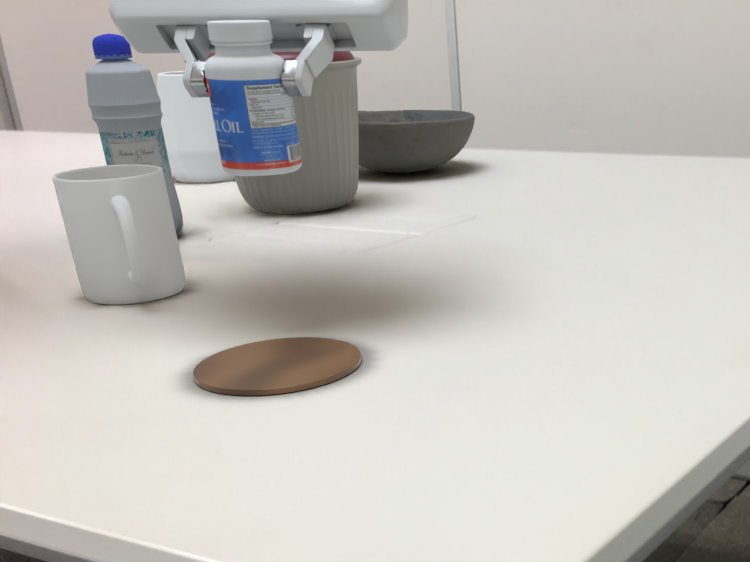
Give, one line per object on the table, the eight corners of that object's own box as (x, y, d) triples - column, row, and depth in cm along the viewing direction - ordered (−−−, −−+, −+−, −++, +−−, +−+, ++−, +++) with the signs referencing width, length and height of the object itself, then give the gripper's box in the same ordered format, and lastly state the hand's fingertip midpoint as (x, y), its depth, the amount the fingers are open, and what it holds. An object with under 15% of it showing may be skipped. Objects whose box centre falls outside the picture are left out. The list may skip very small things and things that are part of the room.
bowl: (303, 172, 147) (294, 113, 144) (428, 156, 160) (422, 102, 156) (376, 189, 133) (368, 125, 129) (506, 171, 145) (502, 112, 142)
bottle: (119, 247, 104) (69, 35, 95) (120, 235, 110) (73, 33, 101) (189, 240, 107) (146, 33, 98) (187, 228, 112) (146, 31, 103)
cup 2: (278, 170, 149) (261, 68, 143) (229, 186, 137) (209, 75, 131) (195, 169, 151) (175, 68, 145) (140, 184, 139) (116, 76, 133)
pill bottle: (210, 171, 72) (181, 21, 68) (282, 162, 75) (258, 18, 71) (243, 180, 68) (214, 22, 64) (317, 170, 72) (294, 19, 67)
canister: (221, 200, 127) (186, 16, 118) (367, 189, 133) (344, 13, 124) (226, 227, 112) (186, 19, 103) (390, 213, 118) (366, 15, 109)
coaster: (179, 402, 64) (177, 396, 64) (209, 348, 74) (208, 343, 73) (358, 387, 66) (357, 381, 66) (364, 337, 76) (364, 332, 75)
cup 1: (179, 275, 93) (154, 161, 89) (203, 305, 84) (177, 179, 79) (79, 288, 89) (48, 170, 85) (93, 322, 80) (59, 191, 76)
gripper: (112, -100, 71) (72, 59, 66) (400, -106, 70) (380, 55, 66) (156, -28, 77) (122, 123, 72) (422, -32, 76) (405, 120, 71)
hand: (247, 91), depth 69 cm, fingers closed on pill bottle, 5 cm apart
